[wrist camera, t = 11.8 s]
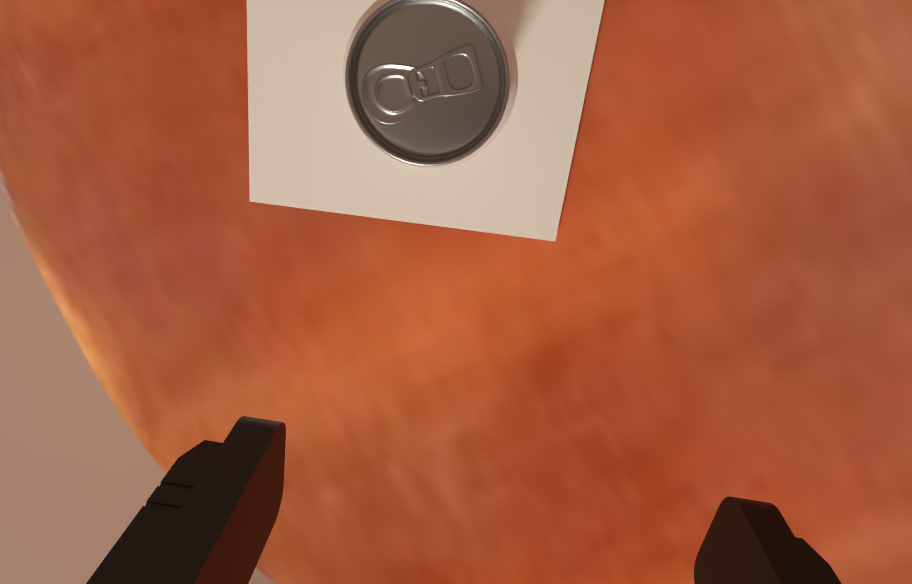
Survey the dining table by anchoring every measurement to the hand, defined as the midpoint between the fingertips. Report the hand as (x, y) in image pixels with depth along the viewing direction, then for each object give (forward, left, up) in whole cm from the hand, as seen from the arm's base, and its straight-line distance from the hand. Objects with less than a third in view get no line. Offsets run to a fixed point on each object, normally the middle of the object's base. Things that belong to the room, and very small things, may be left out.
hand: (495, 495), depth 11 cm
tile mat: (+4, -6, -26) cm, 27 cm away
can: (+3, -6, -25) cm, 26 cm away
